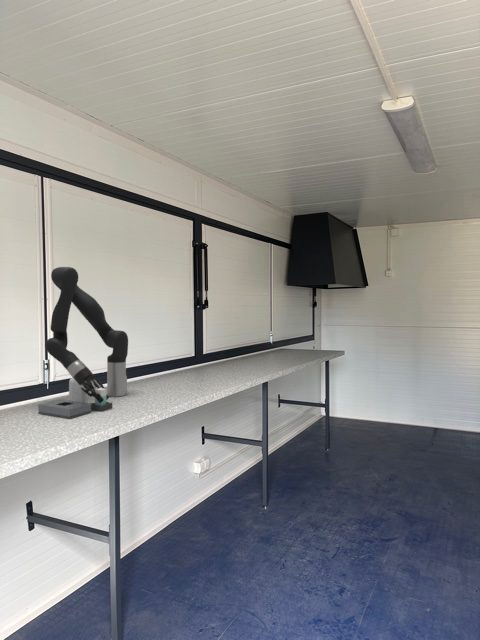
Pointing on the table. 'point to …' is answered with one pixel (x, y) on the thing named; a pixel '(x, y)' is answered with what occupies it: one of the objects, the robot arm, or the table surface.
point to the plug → (103, 395)
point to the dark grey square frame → (101, 407)
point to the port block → (64, 408)
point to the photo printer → (77, 392)
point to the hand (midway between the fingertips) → (104, 400)
